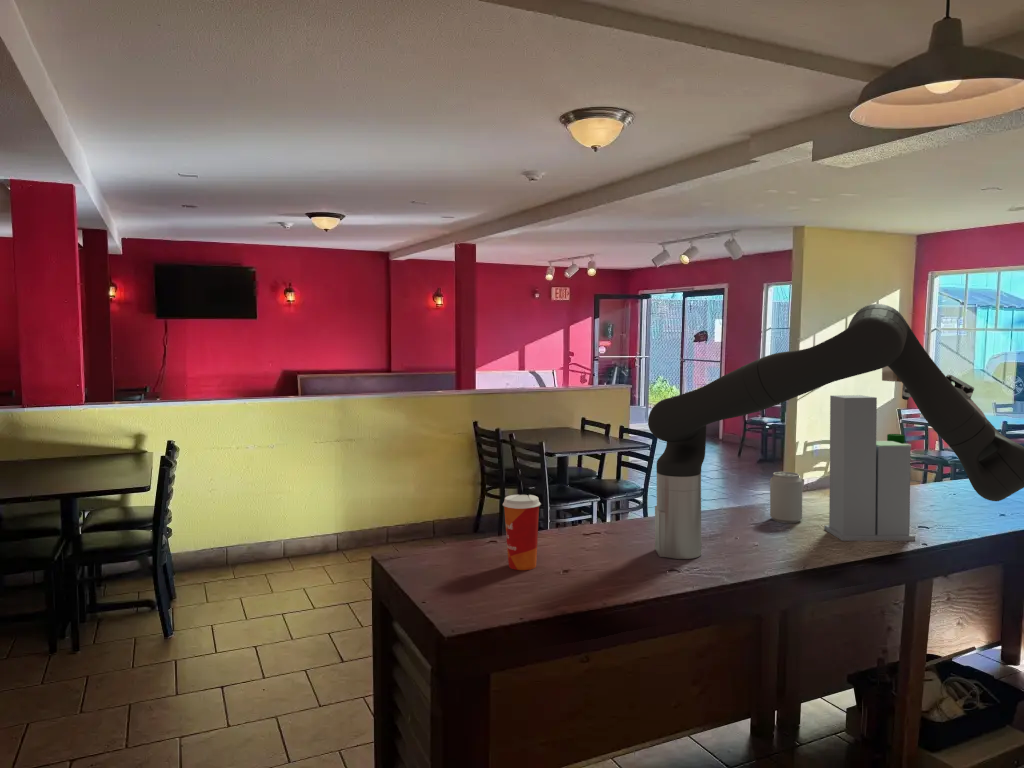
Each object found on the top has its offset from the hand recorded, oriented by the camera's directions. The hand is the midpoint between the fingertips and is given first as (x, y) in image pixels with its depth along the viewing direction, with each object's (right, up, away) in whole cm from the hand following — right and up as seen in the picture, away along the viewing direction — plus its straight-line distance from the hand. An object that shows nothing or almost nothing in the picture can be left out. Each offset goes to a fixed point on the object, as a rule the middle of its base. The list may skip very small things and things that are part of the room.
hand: (917, 368), depth 148 cm
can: (-16, -38, +30) cm, 51 cm away
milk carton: (+15, -37, +39) cm, 56 cm away
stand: (-3, -38, +15) cm, 41 cm away
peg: (0, -3, +3) cm, 4 cm away
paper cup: (-83, -40, -5) cm, 92 cm away
